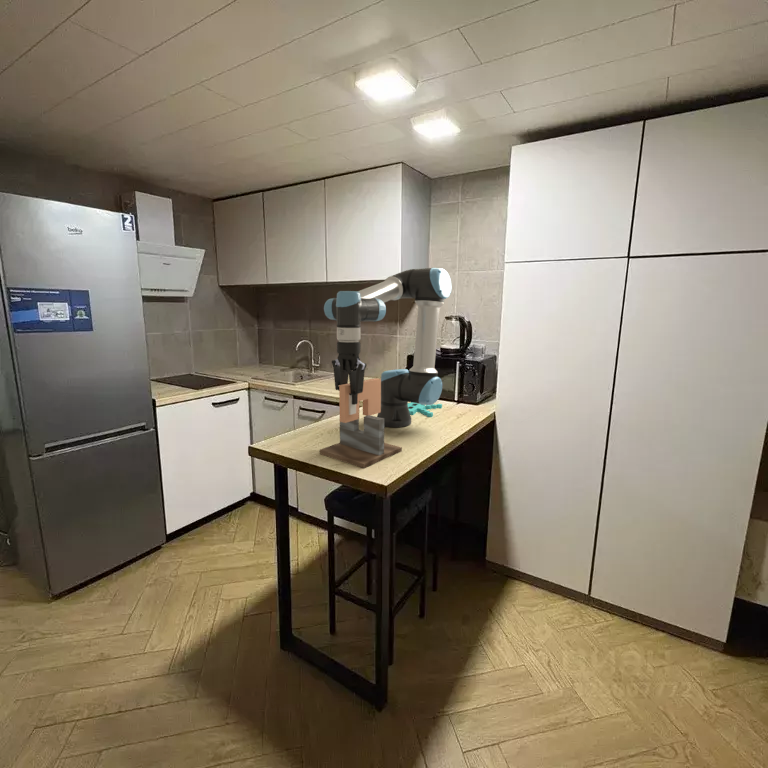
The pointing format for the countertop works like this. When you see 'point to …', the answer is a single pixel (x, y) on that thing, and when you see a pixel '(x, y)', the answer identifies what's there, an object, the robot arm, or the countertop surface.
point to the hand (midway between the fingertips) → (348, 412)
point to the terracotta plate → (369, 397)
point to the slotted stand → (361, 443)
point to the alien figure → (422, 408)
